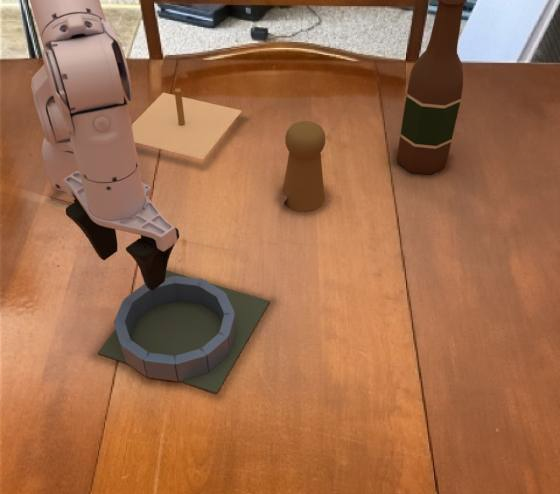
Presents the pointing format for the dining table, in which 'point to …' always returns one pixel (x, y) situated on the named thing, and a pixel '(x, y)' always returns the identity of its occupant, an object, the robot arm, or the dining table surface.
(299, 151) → the brown pawn
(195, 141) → the stand
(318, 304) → the dining table surface
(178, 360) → the ring
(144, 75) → the dining table surface
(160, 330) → the mat
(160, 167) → the dining table surface
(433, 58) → the beer bottle
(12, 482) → the dining table surface
